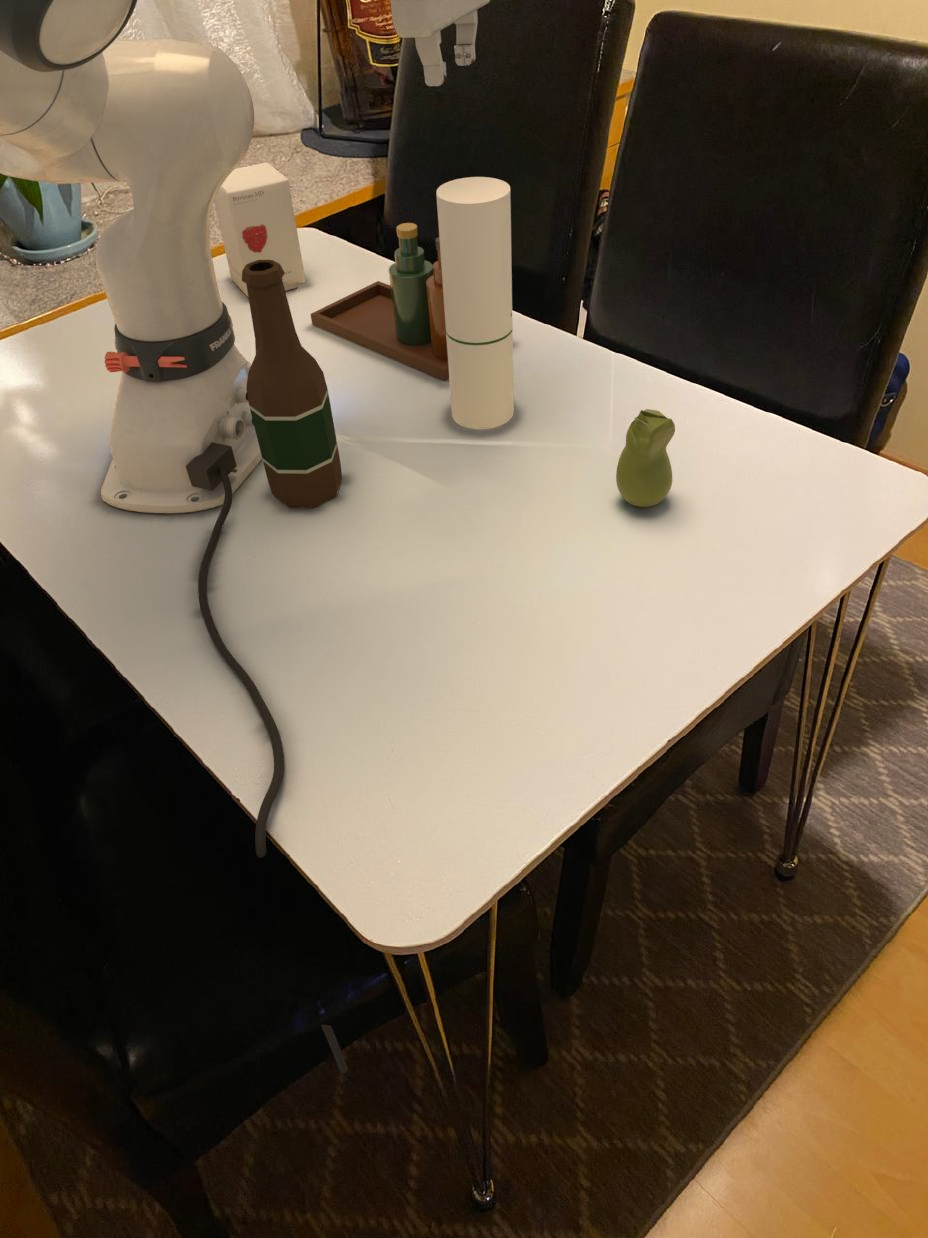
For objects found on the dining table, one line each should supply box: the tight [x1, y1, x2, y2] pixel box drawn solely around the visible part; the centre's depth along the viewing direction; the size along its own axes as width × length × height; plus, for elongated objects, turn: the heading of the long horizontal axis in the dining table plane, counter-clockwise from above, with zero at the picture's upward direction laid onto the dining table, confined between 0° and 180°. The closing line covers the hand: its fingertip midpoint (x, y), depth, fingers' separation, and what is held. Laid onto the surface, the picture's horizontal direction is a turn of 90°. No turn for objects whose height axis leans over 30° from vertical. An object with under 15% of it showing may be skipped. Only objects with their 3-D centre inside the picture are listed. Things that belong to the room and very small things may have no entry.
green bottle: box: [388, 222, 433, 346], centre depth 113 cm, size 6×6×14 cm
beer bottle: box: [242, 260, 343, 509], centre depth 87 cm, size 8×8×24 cm
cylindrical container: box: [435, 176, 515, 430], centre depth 95 cm, size 7×7×25 cm
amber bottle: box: [426, 236, 448, 361], centre depth 109 cm, size 6×6×14 cm
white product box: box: [213, 161, 307, 298], centre depth 128 cm, size 9×9×15 cm
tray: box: [310, 280, 449, 382], centre depth 118 cm, size 25×13×2 cm, turn 47°
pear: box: [615, 408, 676, 508], centre depth 87 cm, size 6×5×10 cm
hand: (451, 73), depth 91 cm, fingers open, 8 cm apart
